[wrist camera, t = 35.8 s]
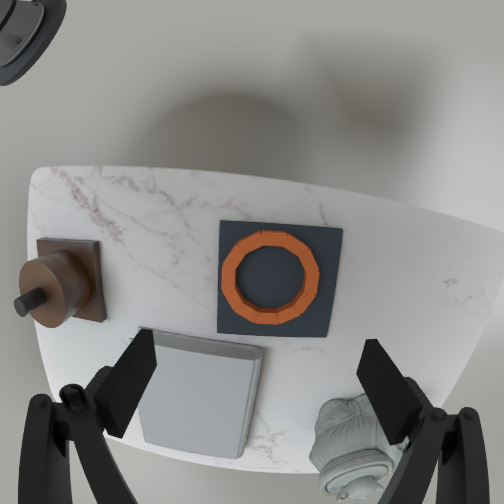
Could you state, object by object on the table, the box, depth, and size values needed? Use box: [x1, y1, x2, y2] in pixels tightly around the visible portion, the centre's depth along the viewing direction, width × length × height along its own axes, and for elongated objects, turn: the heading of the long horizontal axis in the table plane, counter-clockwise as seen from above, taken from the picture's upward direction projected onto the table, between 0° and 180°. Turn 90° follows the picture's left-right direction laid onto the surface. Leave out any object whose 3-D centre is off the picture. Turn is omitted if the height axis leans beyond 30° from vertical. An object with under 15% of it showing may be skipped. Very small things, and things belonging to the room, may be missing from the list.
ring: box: [221, 230, 320, 325], centre depth 34 cm, size 12×12×2 cm
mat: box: [217, 220, 343, 337], centre depth 35 cm, size 15×15×1 cm
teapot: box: [309, 393, 409, 502], centre depth 32 cm, size 16×15×19 cm
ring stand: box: [14, 238, 106, 328], centre depth 30 cm, size 12×12×12 cm
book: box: [129, 327, 263, 459], centre depth 38 cm, size 18×4×24 cm
